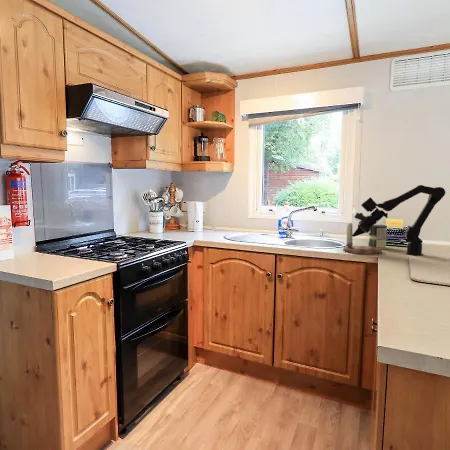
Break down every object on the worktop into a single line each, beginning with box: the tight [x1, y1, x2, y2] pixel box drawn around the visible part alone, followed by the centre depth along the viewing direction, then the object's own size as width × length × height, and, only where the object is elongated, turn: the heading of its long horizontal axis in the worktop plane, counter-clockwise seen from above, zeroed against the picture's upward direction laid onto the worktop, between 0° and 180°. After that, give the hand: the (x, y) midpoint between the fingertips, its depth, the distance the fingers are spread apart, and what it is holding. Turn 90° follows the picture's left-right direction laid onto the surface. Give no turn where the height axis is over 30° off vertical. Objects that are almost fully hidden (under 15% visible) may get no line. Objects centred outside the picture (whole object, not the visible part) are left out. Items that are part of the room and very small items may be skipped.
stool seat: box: [342, 243, 383, 256], centre depth 196 cm, size 21×21×4 cm
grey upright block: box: [367, 224, 388, 250], centre depth 210 cm, size 10×10×14 cm
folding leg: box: [346, 222, 354, 246], centre depth 198 cm, size 3×3×13 cm
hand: (352, 236), depth 197 cm, fingers closed, pressing on folding leg
